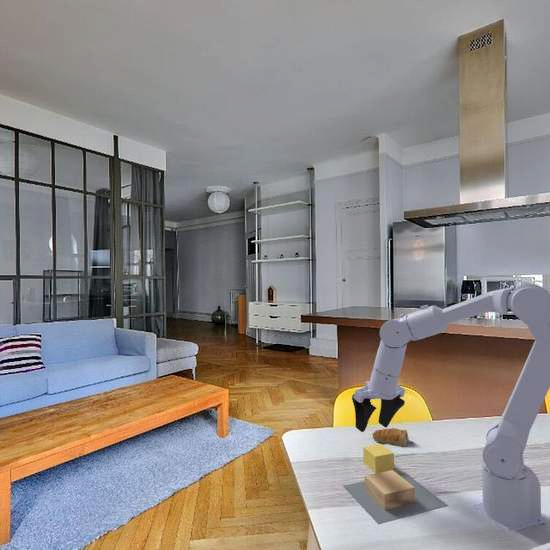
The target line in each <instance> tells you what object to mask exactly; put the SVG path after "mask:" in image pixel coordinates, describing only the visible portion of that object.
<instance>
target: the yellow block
mask: <svg viewBox="0 0 550 550" xmlns="http://www.w3.org/2000/svg"><path fill="white" fill-rule="evenodd" d="M362 449H363V464H364V465H366V467H368V468H369V469H370V470H371V471H372V472H373V473H374V474H376V473H381V472H385V471H390V470H393V471H394V470H395V452H393V451H391V449H389V448H387V446H385V445H384V444H383V443H379V444H374V445H369V446H363V447H362Z"/></svg>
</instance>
